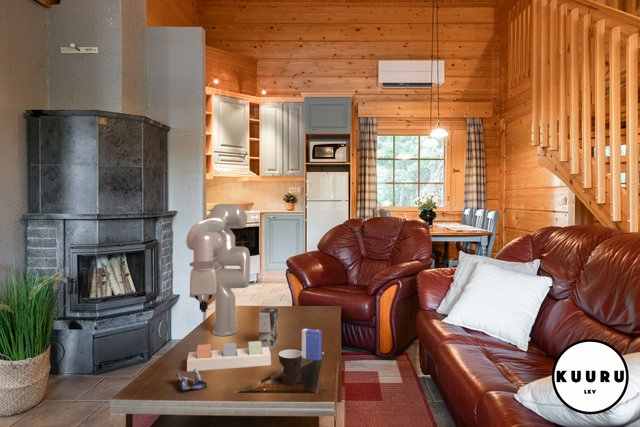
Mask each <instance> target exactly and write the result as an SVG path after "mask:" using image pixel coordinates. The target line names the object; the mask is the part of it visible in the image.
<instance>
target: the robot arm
mask: <svg viewBox="0 0 640 427" xmlns="http://www.w3.org/2000/svg"><path fill="white" fill-rule="evenodd" d="M247 224H248V216H247V213H246V212H245V210H244V208H243V207H242V205H240V204H238V203H218V204H215V205H213V207H212V208H211V210H210V212H209V214H208V216H207V218H204V219H202V220H201V221H199V222H196V223H195V224H194V225H193V226H192V227H191V228H190V230H189V231H188V233H187V236H186V241H185V243H186V246H187V248H188V249H189V250H191V251H192V252H193V260H192V261H191V262H189V266H190V267H192V269H191V270H190V277H189V298H192V299H195V300H196V301H198V303H199V311H201V313H206V311H207V310H208V309H209V308H208V307H209V306H208V305H209V304H208V303H209V300H211V298H215V300H214V301H215V303H214V304H215V321H214V322H212V323H211V326H213V327H214V328H213V329H212V335H214V336H217V337H228V336H229V337H230V336H234V335H236V334H238V333H239V327H236V296H235V294H234V292H233V291H232V289H247V288H248V287H249V285H250V280H251V278H250V277H251V276H250V275H251V274H250V273H251V266H250V265H251V254H250V250H249V248H248V247H246V246H236V235H235V234H234V233H233V231H232V230H231V229H244V228H245V227H246V226H247ZM214 251H217V256H216V257H217V258H216V259H217V260H216V261H217V263H218V265H220V266H225V267H226V266H227V267H228V266H229V267H239V268H219V269H217V270H216V268H215V267H214ZM203 296H205V298H204V299H203Z"/></svg>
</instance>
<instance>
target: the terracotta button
mask: <svg viewBox="0 0 640 427" xmlns="http://www.w3.org/2000/svg"><path fill="white" fill-rule="evenodd" d="M211 348H212V344H211V343H210V344H198V345H197V348H196V352H197V359H198V358H211V351H212V349H211Z"/></svg>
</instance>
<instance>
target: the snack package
mask: <svg viewBox="0 0 640 427" xmlns="http://www.w3.org/2000/svg"><path fill="white" fill-rule="evenodd" d="M193 373H194V375H195V376H194V379H191V378H190V377H187V376H183V375H182V374H180V373H179V372H177V371H175V374H176V377H177V379H178V380H179V384H180V387H181V390H182V391H183V392H186V391H188V390H194V392H195V390H196V391H201V390H204V389H206V388H207V387H208V386H207V382H205V381H203V380H202V379H201V378H202V377H201V376H202V375H201V374H200V372H199V371H198V370H196V369H194V371H193ZM187 379H189V380H188V381H191V382H192V381H193V385H192V386H189V385H188V383H187ZM186 383H187V385H188V386H189V387H188V386H187V385H186ZM190 387H192V388H190Z"/></svg>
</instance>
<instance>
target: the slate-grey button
mask: <svg viewBox="0 0 640 427" xmlns="http://www.w3.org/2000/svg"><path fill="white" fill-rule="evenodd" d="M236 349H237V343H236V342H225V343H224V342H223V348H222V350H223V357H226V356H236Z"/></svg>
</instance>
